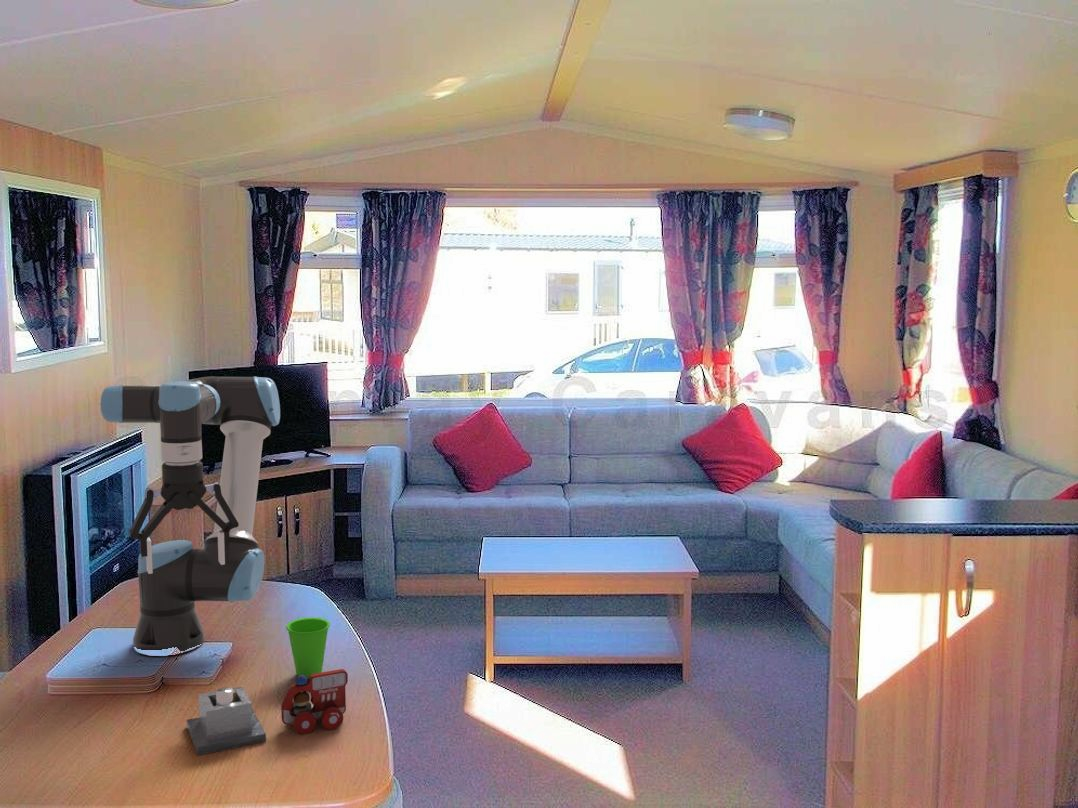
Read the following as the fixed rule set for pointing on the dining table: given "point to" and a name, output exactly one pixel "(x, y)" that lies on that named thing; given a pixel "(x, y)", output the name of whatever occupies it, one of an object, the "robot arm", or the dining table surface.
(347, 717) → the dining table surface
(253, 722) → the shaft stand
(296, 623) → the cup
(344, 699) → the toy fire truck
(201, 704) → the grey block with hole
